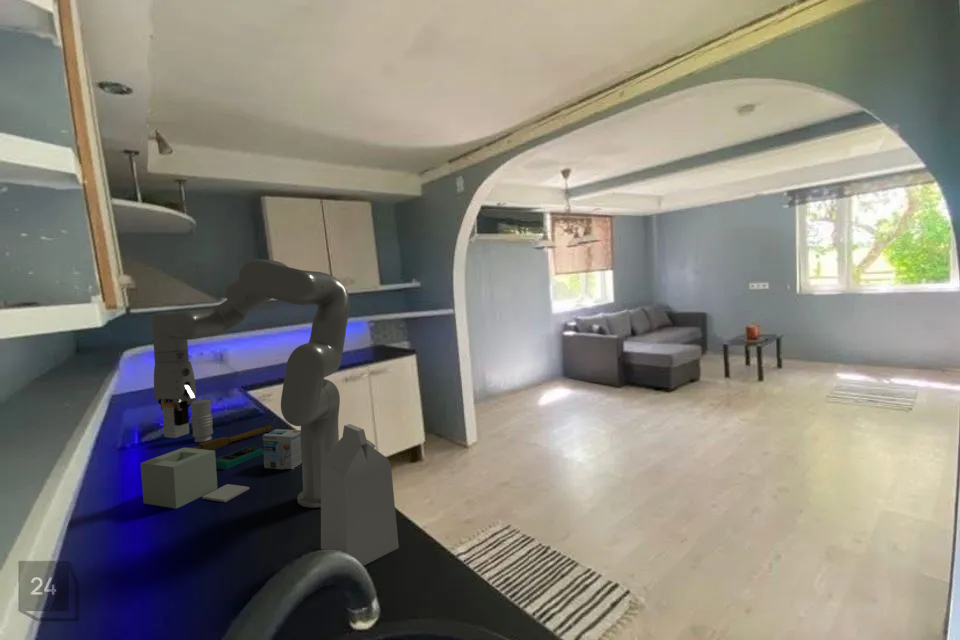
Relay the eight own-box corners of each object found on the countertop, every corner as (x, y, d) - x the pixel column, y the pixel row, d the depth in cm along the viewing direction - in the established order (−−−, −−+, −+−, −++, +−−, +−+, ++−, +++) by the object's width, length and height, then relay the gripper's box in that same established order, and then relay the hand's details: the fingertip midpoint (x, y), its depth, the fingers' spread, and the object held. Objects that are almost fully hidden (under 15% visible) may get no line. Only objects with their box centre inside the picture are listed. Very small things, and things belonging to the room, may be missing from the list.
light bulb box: (263, 468, 137) (261, 435, 136) (278, 460, 143) (276, 428, 143) (292, 470, 134) (290, 436, 134) (306, 462, 141) (304, 429, 140)
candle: (217, 438, 169) (214, 400, 168) (198, 443, 163) (195, 404, 162) (208, 435, 173) (205, 398, 172) (189, 440, 167) (186, 402, 166)
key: (190, 433, 119) (187, 400, 119) (175, 438, 115) (172, 404, 115) (178, 432, 121) (176, 399, 120) (163, 437, 117) (161, 403, 116)
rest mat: (249, 489, 122) (249, 486, 122) (224, 502, 114) (224, 499, 114) (227, 486, 124) (227, 484, 124) (202, 498, 117) (202, 496, 117)
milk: (320, 548, 91) (314, 428, 90) (369, 527, 99) (364, 416, 98) (348, 573, 83) (341, 440, 81) (398, 547, 91) (393, 426, 89)
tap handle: (272, 425, 175) (191, 448, 150) (273, 432, 175) (192, 456, 150) (268, 424, 177) (187, 446, 151) (268, 431, 177) (188, 455, 152)
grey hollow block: (217, 488, 123) (215, 450, 122) (176, 508, 111) (173, 467, 111) (186, 484, 126) (183, 447, 126) (143, 503, 115) (140, 462, 114)
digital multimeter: (265, 455, 150) (264, 446, 150) (225, 471, 136) (225, 462, 136) (250, 452, 153) (249, 444, 153) (210, 468, 139) (209, 459, 139)
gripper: (207, 355, 118) (211, 421, 119) (163, 355, 123) (167, 418, 124) (181, 359, 111) (185, 430, 112) (135, 358, 116) (140, 425, 117)
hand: (176, 423), depth 118 cm, fingers closed on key, 4 cm apart
